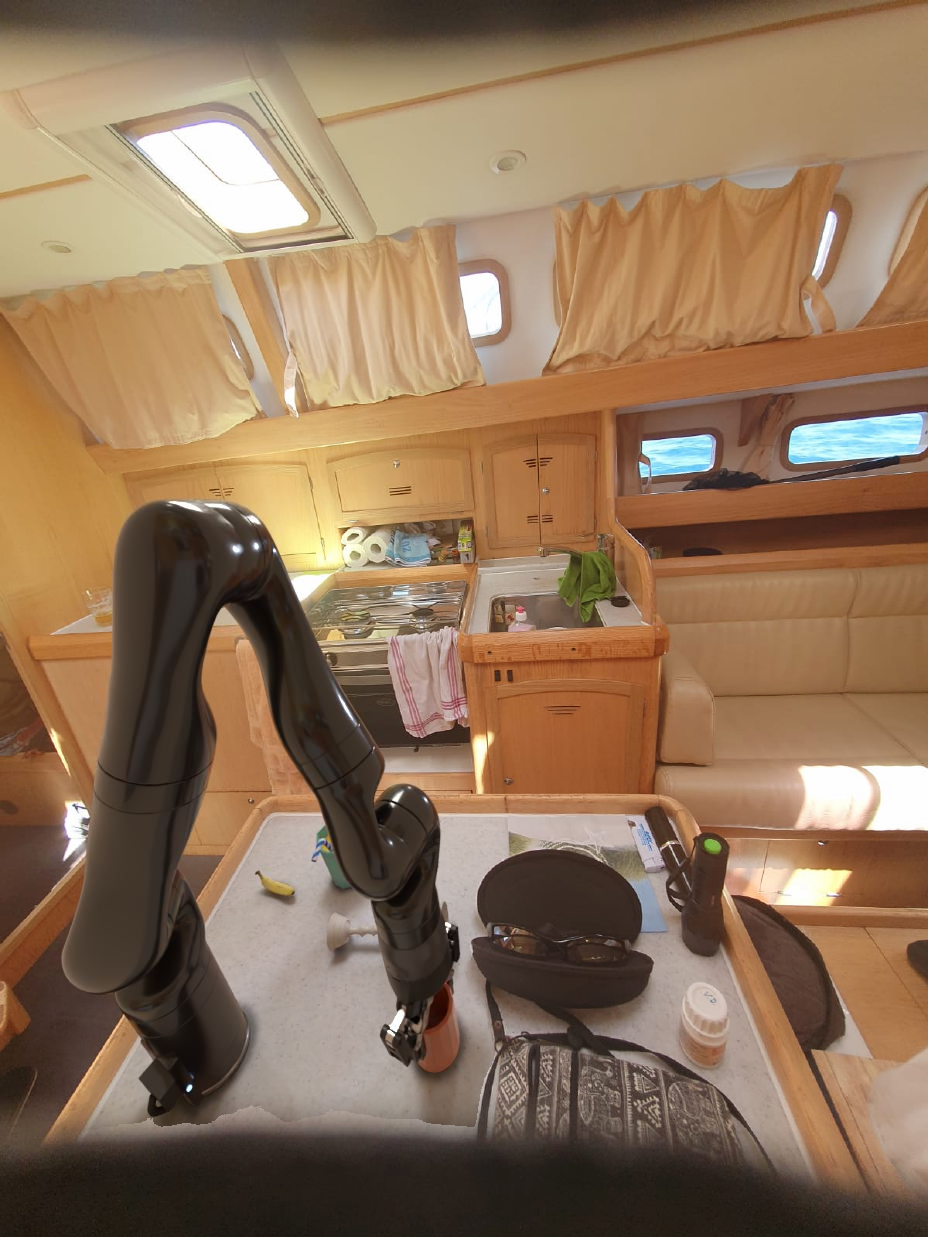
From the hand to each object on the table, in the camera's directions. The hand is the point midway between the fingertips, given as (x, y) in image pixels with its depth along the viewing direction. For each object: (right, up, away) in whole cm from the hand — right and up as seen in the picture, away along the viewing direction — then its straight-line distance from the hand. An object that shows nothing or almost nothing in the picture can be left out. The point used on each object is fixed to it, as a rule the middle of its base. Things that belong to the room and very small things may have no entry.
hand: (432, 1021), depth 57 cm
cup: (-17, +4, +25) cm, 30 cm away
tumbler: (0, -4, +2) cm, 5 cm away
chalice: (-17, +2, +14) cm, 22 cm away
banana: (-29, +2, +24) cm, 38 cm away
